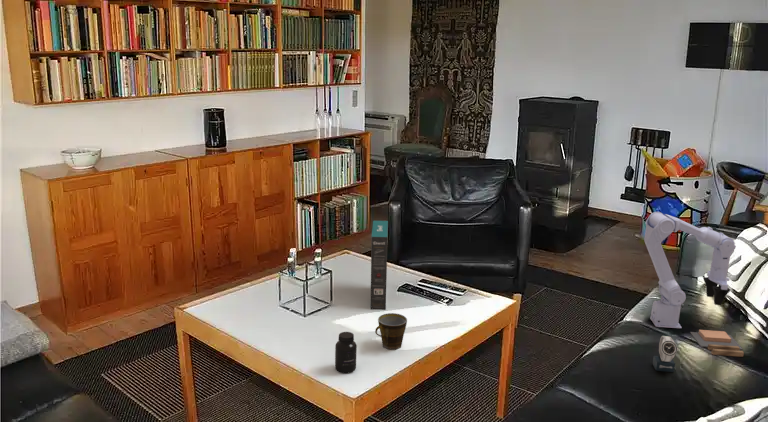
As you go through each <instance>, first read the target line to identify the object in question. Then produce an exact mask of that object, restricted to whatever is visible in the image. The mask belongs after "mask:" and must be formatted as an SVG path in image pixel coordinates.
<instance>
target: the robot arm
mask: <svg viewBox="0 0 768 422" xmlns="http://www.w3.org/2000/svg"><path fill="white" fill-rule="evenodd" d="M713 229H714V228H712V227H710V226H702V227H697V226H695V225H693V224H691V223H689V222H686V221H684V220H682V219H681V218H678V217H676V216H673V215H669V214H667V213H662V212H661V211H654V212H652V213H651V214H649V216H648V217H647V218H646V220H645V231H644V232H645V234H644V239H643V240H644V243H645V246H646V249H647V251H648V254H649V257H650V259H651V262H652V264H653V267H654V270H655V272H656V275H657V277H658V279H659V281H658V282H657V283H658V292H659V294H660V299H659V300H653V303H652V305H651V313H650V317H649V318H650V321H652V323H653V325H654V326H655V327H656V328H672V329H682V326H681V324H680V323H679V320H680V314H681V308H682V304H684V303H685V301H686V299H687V296H686V293H685V291H683V290H682V288H681V286H680V285H679V283H678V282H677V281H676V278H675V276H674V274H673V271H672V268H671V267H670V263H669V261H668V259H667V256H666V253H665V251H664V248H663V246H662V242H664V241H665V240H666V239H667V238H668V237H669V236H670V235H671V234H672V233H676V232H678V231H681V232H684V233H687V234H689V235H691V236H694V237H695V239H696V241H697V242H700V243H702V244H704V245H707V246H709V247H711V248H713V250H712V251H713V252H712V258H711V263H710V268H709V269H710V270H707V272H706V273H707V274H706V276H707V277H703V281H704V283H705V293H706V296H707V297H708V298H713V297H714V298H713V301H714V302H713V304H714V305H715V306H722V304H723V301H725V298H726V296H727V295H728V294H729V293H730V292H731V288H730V287H729V284H728V282H729V281H730V278H729V277H728V271H729V266H730V260H731V256H732V253H733V252H734V251H735V249H736V247H737V246H736V244H735V241H734V239H733V238H731V237H729V236H728V235H726V234H724V233H723V232H721V231H720V232H718V231H716V230H713Z"/></svg>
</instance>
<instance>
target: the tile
mask: <svg viewBox="0 0 768 422" xmlns="http://www.w3.org/2000/svg"><path fill="white" fill-rule="evenodd" d="M698 333H699V335H700V336H701V337H702V338H703V340H704V341H713V342H727V343H731V338H730V337H729V336H728V335H729V333H727V332H726V331H725V330H724V331H723V330H709V329H708V330H707V329H698Z"/></svg>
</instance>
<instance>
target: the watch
mask: <svg viewBox="0 0 768 422" xmlns="http://www.w3.org/2000/svg"><path fill="white" fill-rule="evenodd" d="M678 351H679V348H678V346H677V344H676V343H675V341H674V339H673V338H672V337H671V336H665V335H662V336H661V337H660V339H659V342H658V355H659V356H658V355H653V359H652V366H653V368H654V369H655V371H656V372H664V373H665V372H667V373H674V372H675V365H676V363H675V361H674V360H673V358H674V357H675V356H676V354H677V352H678Z"/></svg>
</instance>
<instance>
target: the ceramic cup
mask: <svg viewBox="0 0 768 422" xmlns="http://www.w3.org/2000/svg"><path fill="white" fill-rule="evenodd" d="M377 321H378V322H377V323H378V326H377V327H376V328H375V329H374V330H375V331H374V332H375V334H376V335H377V336H378V337H380V338H381V343H382V344H381V346H382V348H383V349H385V350H388V351H390V350H391V351H396V350H398V349H400V348H402V345H403V340H404V336H405V331H406V329H407V328H406V327H407V323H408V318H407V317H406V316H405V315H403V314H400V313H394V312H388V313H383V314H381V315H379V317H378V319H377ZM378 331H380V334H379V333H378Z"/></svg>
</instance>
